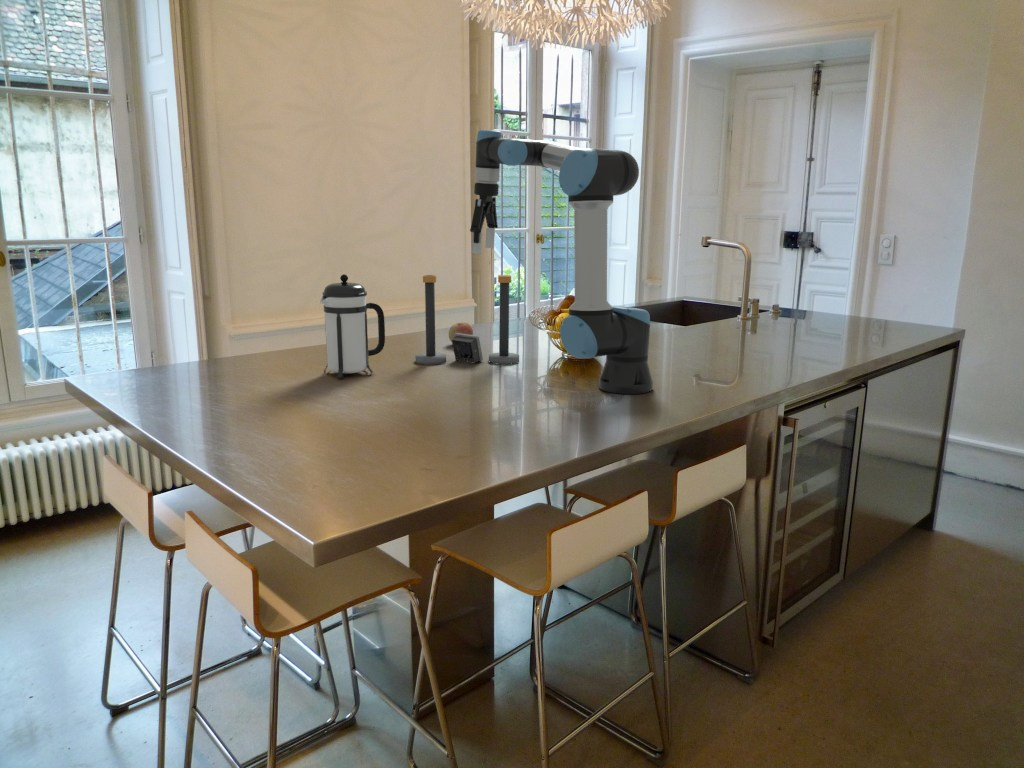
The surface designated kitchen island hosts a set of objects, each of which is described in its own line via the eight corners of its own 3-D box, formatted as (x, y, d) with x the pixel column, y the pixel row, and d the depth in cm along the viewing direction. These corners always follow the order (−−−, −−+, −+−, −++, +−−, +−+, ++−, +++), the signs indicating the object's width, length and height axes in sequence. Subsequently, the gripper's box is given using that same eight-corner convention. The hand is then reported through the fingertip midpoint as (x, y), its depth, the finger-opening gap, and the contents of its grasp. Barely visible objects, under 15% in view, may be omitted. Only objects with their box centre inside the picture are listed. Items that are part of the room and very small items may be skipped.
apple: (474, 343, 280) (474, 321, 278) (470, 347, 271) (470, 325, 270) (451, 342, 281) (450, 321, 279) (446, 347, 272) (446, 325, 270)
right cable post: (520, 364, 245) (521, 277, 238) (489, 364, 244) (489, 277, 238) (518, 358, 254) (519, 274, 248) (488, 358, 254) (488, 274, 247)
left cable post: (445, 364, 243) (444, 277, 237) (414, 364, 243) (412, 277, 236) (446, 358, 253) (445, 274, 246) (416, 358, 253) (414, 273, 246)
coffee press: (365, 381, 220) (361, 277, 213) (314, 378, 223) (308, 276, 216) (386, 368, 237) (383, 272, 230) (338, 366, 240) (334, 270, 233)
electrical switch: (483, 361, 249) (481, 334, 246) (474, 366, 244) (472, 338, 242) (460, 358, 253) (458, 331, 251) (451, 362, 249) (449, 335, 246)
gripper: (487, 179, 248) (483, 245, 255) (462, 182, 225) (459, 254, 232) (509, 181, 246) (505, 247, 253) (486, 185, 223) (482, 257, 230)
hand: (483, 250), depth 242 cm, fingers open, 13 cm apart
